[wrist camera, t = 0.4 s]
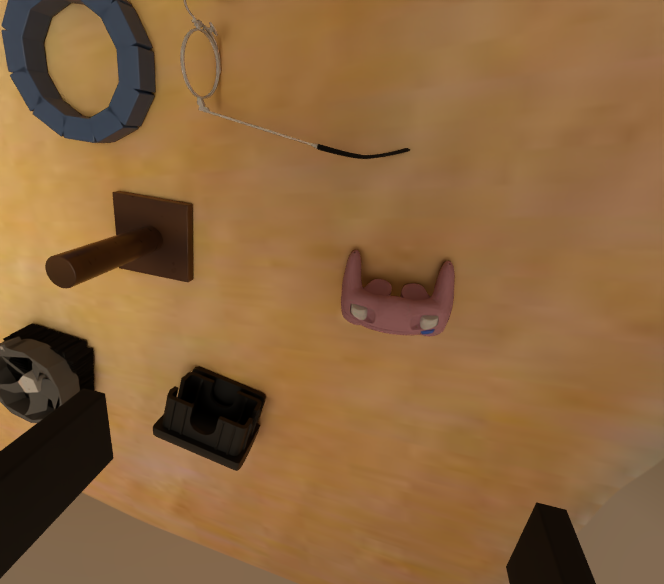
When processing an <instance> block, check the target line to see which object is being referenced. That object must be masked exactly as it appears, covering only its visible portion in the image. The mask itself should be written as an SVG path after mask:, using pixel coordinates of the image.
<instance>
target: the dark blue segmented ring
mask: <svg viewBox="0 0 664 584" xmlns="http://www.w3.org/2000/svg"><path fill="white" fill-rule="evenodd" d="M70 3H77V4H85V5H86V6H87V7H89V8H90V9H91V10H92V11H93V12H95V13H96V14H97V15H98V16H100V17H101V19H102V21H103V23H104V25H105V27H106V29H107V31H108V33H109V35H110V37H111V39H112V41H113V43H114V45H115V47H116V49H117V62H118V75H119V83H118V85H117V88H116V90H115V93H114V95H113V97H112V100H111V102H110V105H109V107H108V108H106V109H104V110H103V111H101V112H99V113H98V114H96V115H94V116H93V117H84V116H82V115H81V114H80V113H78V112H77V111H76V110H75V109H73V108H72V107H71V106H70V105H68V104H67V103H66V102H65V101H63V100H62V98H61V97H60V95H59V93H58V91H57V89H56V87H55V86H54V84H53V82H52V80H51V78H50V76H49V75H48V72H47V65H46V57H45V50H44V40H45V37H46V34H47V31H48V27H49V24H50V21H51V18H52V17H53V16H54V15H55V14H57V13H58V12H59V11H61V10H62V9H64V8H65V7H66V6H68V5H69V4H70ZM131 6H132V5H131V4H130V3H129V2H128V1H127V0H8V3H7V7H6V11H5V14H4V18H3V22H2V27H3V28H5V29H6V30H2V37H3V43H4V48H5V54H6V60H7V66H8V71H9V72H14V73H12V74H11V75H10V77H11V78H12V80H13V82H14V84H15V85H16V87H17V89H18V91H19V92H20V94H21V96H22V98H23V99H24V101H25V103H26V105H27V106H28V108H29V110H30V111H33V115H35V116H36V117H37V118H38V119H40V120H41V121H42V122H44V123H45V124H46V125H47V126H49V127H50V128H51V129H52V130H54V131H55V132H56V133H57V134H59V135H60V136H64V138H68V139H74V140H80V141H86V142H92V143H111V142H115V141H117V140H119V139H121V138H123V137H124V136H126V135H128V134H130V133H132V132H133V131H135V130H137V129H138V126H141V125H142V122H143V120H144V118H145V116H146V114H147V112H148V110H149V107H150V105H151V103H152V101H153V99H154V95H153V94H152V93H151V92H155V70H154V52H153V51H150V49H152V48H153V47H152V45H151V43H150V41H149V39H148V37H147V34H146V32H145V30H144V28H143V26H142V24H141V22H140V20H139V17H138V15H137V13H136V11H135V9H134V8H132V7H131Z"/></svg>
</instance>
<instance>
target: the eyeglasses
mask: <svg viewBox="0 0 664 584" xmlns="http://www.w3.org/2000/svg"><path fill="white" fill-rule="evenodd" d="M184 4H185V7H186V9H187V11H188V12H189V14H190V15H191V16H192V17H193V19H194V20H192V22H193V23H194V26H196V28H195V29H191V30H190V31H189V32H188V33H187V34H186V36H185V37H184V40H183V43H182V47H181V69H182V74H183V77H184V80H185V83H186V85H187V87H188V88H189V90H190V91H191V92H192V94H194V95H195V96H196V97H197V104H198V105H199V110H201V111H204V112H207V113H210V114H213V115H216V116H219V117H223V118H226V119H229V120H232V121H235V122H238V123H242V124H245V125H248V126H251V127H254V128H257V129H260V130H264V131H267V132H270V133H273V134H276V135H279V136H283V137H286V138H289V139H292V140H296V141H299V142H302V143H305V144H308V145H311V146H313V147H315V148H316V149H318V150H322V151H325V152H329V153H333V154H337V155H341V156H346V157H351V158H358V159H371V158H378V157H385V156H390V155H396V154H400V153H404V152H408V151H410V149H408V148H404V149H401V150H397V151H393V152H388V153H383V154H376V155H360V154H354V153H350V152H346V151H342V150H338V149H334V148H331V147H327V146H324V145H320V144H314V143H308V142H305V141H302V140H299V139H296V138H293V137H290V136H287V135H284V134H281V133H278V132H274V131H271V130H268V129H265V128H262V127H259V126H256V125H252V124H249V123H246V122H243V121H240V120H237V119H233V118H230V117H227V116H224V115H221V114H218V113H215V112H211V111H210V110H209V108H207V107H205V103H204V101H203V98H204V99H205V98H209V97H210V96H212V95H213V93H214V92H215V90H216V88H217V85H218V81H219V75H220V73H221V67H220V55H219V50H218V46H217V43H216V40H215V38H214V36H213V34H212V32H213V33H214V34H215V35H216V36H217V35H218V34H217V31H216V29H215V28H214V26H213V24H212V23H211V22H209V24H210V28H207V27H206V26H205V25H204V24H203V23H202V21H200V20H196V18H195V17H194V16H193V14H192V13H191V12H190V10H189V8H188V6H187V3H186V0H184ZM200 27H203V30H202V29H200ZM204 29H205V30H206V31H207V32H206V31H205V30H204ZM197 30H199V31H201V32H203V33H204V34H205V35H206V36H207V38H208V39H209V41H210V42H211V45H212V47H213V50H214V53H215V58H216V79H215V84H214V86H213V89H212V90H211V92H210V93H209V94H208V95H207V96H204V97H201V96H199V95H198V94H196V93H195V92H194V90H193V89H192V87H191V85H190V83H189V81H188V78H187V75H186V71H185V63H184V53H185V47H186V43H187V40H188V38H189V36H190V35H191V34H192V33H193V32H194V31H197Z"/></svg>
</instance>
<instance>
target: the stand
mask: <svg viewBox="0 0 664 584" xmlns="http://www.w3.org/2000/svg"><path fill="white" fill-rule="evenodd" d="M113 203H114V215H115V226H116V236H113V237H110V238H107V239H104V240H101V241H98V242H95V243H91V244H88V245H85V246H82V247H79V248H76V249H73V250H69V251H66V252H63V253H60V254H57V255H54V256H51V257H50V258H48V260H47V261H46V265H45V268H46V272H47V275H48V277H49V278H50V280H51V281H52V282H53V283H54V284H56V285H57V286H59V287H61V288H71V287H73V286H75V285H78V284H80V283H82V282H85V281H87V280H89V279H92V278H94V277H96V276H99V275H101V274H103V273H106V272H108V271H110V270H113V269H115V268H117V267H119V268H121V269H126V270H131V271H136V272H141V273H145V274H150V275H155V276H160V277H165V278H169V279H174V280H179V281H184V282H190V281H191V280H193V204H190V203H184V202H178V201H173V200H167V199H162V198H156V197H150V196H145V195H139V194H134V193H128V192H122V191H117V192H113Z"/></svg>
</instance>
